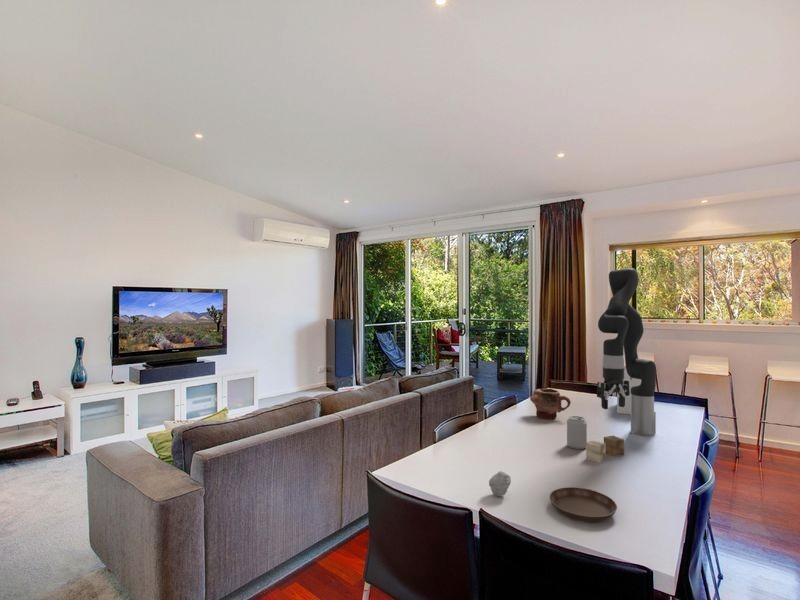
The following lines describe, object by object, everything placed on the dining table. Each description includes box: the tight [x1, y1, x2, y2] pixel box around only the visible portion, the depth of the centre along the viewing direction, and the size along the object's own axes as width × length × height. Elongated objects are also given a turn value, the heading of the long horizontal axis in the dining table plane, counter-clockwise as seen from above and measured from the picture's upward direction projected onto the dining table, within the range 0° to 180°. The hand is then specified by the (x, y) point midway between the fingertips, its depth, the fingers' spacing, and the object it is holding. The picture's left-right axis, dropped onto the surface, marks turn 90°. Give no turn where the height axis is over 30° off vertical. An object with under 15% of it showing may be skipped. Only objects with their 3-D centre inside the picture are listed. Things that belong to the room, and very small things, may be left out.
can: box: [566, 415, 588, 450], centre depth 173 cm, size 8×8×12 cm
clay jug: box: [529, 388, 571, 421], centre depth 216 cm, size 20×12×14 cm, turn 60°
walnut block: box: [603, 435, 625, 457], centre depth 166 cm, size 5×5×6 cm
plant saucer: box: [549, 486, 618, 524], centre depth 121 cm, size 18×18×3 cm
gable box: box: [616, 364, 641, 415], centre depth 231 cm, size 22×13×28 cm, turn 151°
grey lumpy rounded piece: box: [488, 470, 512, 497], centre depth 130 cm, size 6×7×7 cm
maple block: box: [585, 439, 607, 463], centre depth 160 cm, size 5×5×6 cm
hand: (613, 407), depth 166 cm, fingers open, 8 cm apart
